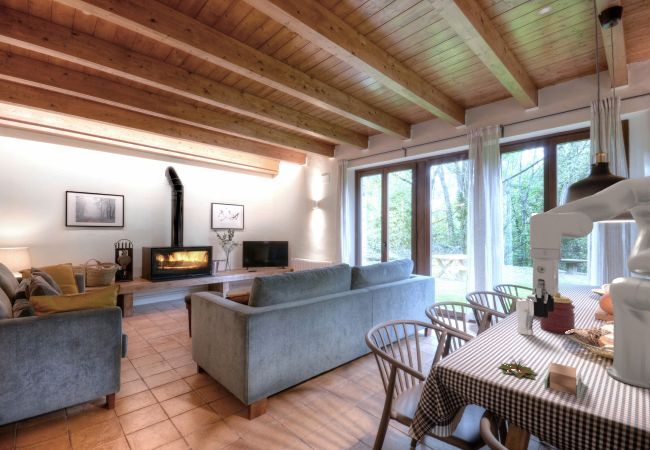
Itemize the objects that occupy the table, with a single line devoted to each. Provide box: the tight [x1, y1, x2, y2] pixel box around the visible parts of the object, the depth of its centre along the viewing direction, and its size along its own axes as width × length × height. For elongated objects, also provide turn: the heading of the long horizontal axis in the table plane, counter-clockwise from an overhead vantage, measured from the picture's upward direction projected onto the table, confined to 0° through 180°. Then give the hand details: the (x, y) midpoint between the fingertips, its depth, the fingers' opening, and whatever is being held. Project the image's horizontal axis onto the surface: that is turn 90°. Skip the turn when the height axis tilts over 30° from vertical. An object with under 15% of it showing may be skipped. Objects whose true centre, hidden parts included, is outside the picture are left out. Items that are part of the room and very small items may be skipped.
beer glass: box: [515, 297, 535, 337], centre depth 136 cm, size 7×7×15 cm
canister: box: [539, 291, 576, 335], centre depth 141 cm, size 13×13×18 cm
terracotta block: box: [549, 361, 577, 396], centre depth 90 cm, size 6×8×5 cm
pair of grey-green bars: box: [544, 365, 582, 398], centre depth 91 cm, size 8×12×2 cm, turn 138°
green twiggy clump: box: [498, 356, 540, 380], centre depth 99 cm, size 12×12×5 cm
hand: (544, 313), depth 88 cm, fingers open, 9 cm apart
